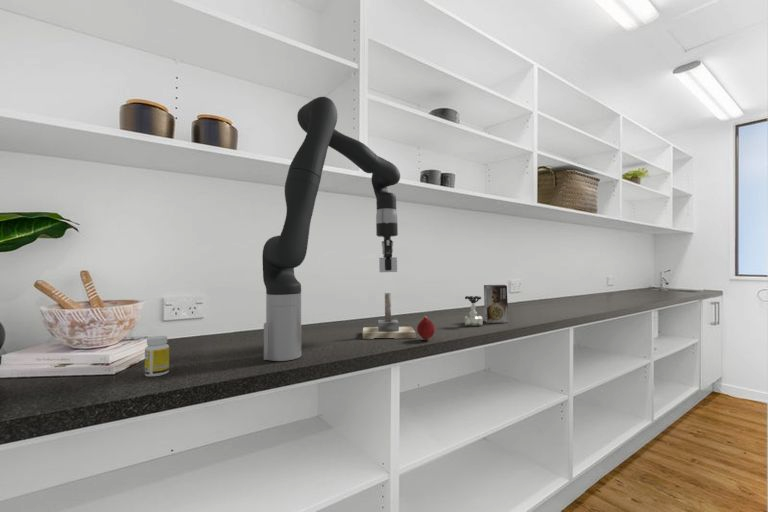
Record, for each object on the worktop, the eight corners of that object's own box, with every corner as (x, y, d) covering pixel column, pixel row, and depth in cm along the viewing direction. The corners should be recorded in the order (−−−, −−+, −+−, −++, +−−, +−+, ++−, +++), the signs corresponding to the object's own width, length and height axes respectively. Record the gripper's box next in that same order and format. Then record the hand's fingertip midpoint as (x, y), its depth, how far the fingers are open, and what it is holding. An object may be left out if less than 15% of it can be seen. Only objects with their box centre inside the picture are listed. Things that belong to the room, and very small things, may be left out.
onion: (438, 339, 118) (437, 315, 118) (430, 342, 113) (429, 317, 113) (422, 337, 121) (422, 314, 121) (414, 340, 116) (413, 316, 116)
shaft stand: (362, 339, 120) (362, 294, 120) (363, 332, 132) (362, 292, 132) (415, 338, 121) (414, 294, 121) (411, 331, 133) (410, 291, 133)
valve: (483, 327, 142) (483, 297, 142) (467, 327, 142) (466, 297, 142) (479, 324, 148) (479, 295, 149) (463, 324, 148) (463, 296, 149)
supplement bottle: (173, 370, 84) (173, 335, 85) (161, 376, 80) (161, 339, 80) (152, 371, 84) (153, 335, 84) (139, 377, 79) (140, 339, 80)
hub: (379, 272, 122) (379, 257, 122) (379, 271, 128) (379, 258, 128) (397, 271, 122) (396, 257, 122) (396, 271, 128) (395, 257, 128)
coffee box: (505, 320, 158) (504, 284, 159) (508, 322, 152) (507, 285, 152) (484, 320, 159) (483, 284, 160) (486, 322, 153) (486, 285, 153)
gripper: (376, 225, 132) (377, 270, 132) (376, 220, 118) (377, 270, 117) (396, 224, 132) (397, 269, 132) (398, 220, 118) (400, 270, 118)
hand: (387, 270), depth 125 cm, fingers closed on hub, 6 cm apart
